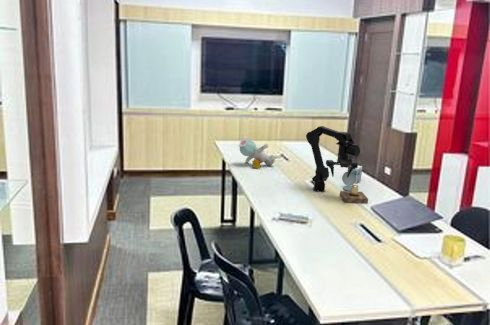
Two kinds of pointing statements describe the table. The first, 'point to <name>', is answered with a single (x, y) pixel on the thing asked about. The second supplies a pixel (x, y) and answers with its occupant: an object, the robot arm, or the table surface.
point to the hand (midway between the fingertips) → (340, 177)
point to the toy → (255, 153)
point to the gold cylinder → (354, 190)
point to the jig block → (353, 197)
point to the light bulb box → (357, 173)
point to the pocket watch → (348, 180)
